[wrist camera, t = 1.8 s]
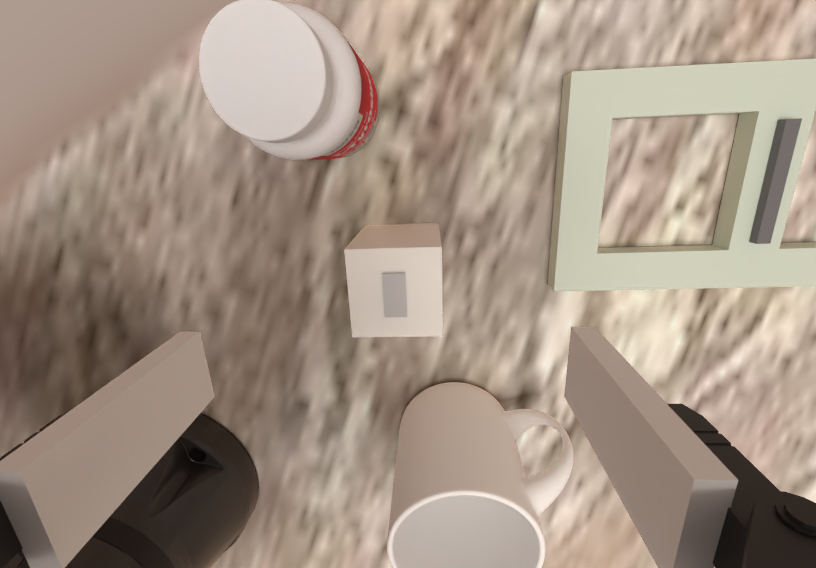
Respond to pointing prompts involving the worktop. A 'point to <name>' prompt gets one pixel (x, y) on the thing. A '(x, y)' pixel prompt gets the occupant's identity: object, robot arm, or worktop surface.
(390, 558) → the mug
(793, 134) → the faceplate
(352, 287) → the block
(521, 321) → the worktop surface
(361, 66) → the pill bottle
